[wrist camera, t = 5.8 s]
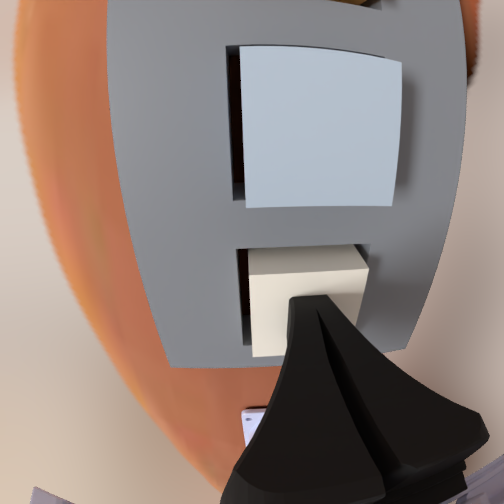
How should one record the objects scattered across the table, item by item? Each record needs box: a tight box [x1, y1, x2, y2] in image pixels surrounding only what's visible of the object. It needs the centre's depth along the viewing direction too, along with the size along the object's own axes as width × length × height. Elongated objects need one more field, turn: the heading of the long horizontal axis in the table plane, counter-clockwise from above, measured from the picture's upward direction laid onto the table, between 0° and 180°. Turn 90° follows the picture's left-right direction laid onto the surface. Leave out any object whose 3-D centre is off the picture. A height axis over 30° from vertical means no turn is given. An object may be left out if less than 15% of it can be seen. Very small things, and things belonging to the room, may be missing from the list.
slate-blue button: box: [240, 46, 402, 208], centre depth 7 cm, size 4×4×2 cm
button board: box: [107, 0, 467, 368], centre depth 9 cm, size 21×12×2 cm, turn 2°
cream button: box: [248, 244, 369, 357], centre depth 11 cm, size 4×4×2 cm
